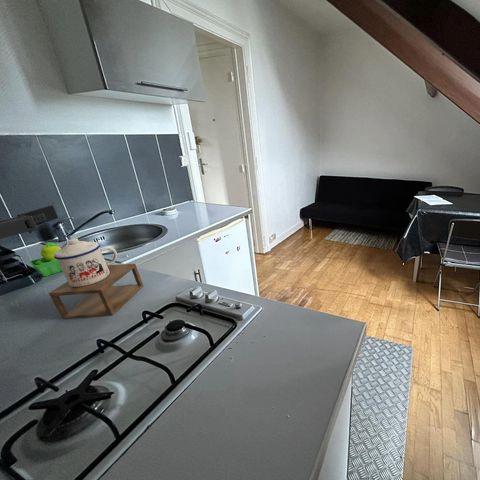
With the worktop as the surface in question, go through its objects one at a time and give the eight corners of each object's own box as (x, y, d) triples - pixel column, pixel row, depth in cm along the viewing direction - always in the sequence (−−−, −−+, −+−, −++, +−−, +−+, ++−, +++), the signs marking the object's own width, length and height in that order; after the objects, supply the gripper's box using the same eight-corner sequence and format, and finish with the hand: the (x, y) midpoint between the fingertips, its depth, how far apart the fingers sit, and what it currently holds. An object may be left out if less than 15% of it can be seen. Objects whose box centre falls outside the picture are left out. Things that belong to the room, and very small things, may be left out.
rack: (62, 318, 68) (48, 293, 65) (101, 288, 81) (91, 266, 78) (112, 315, 68) (100, 289, 65) (143, 286, 81) (135, 263, 78)
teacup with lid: (69, 292, 65) (48, 250, 60) (67, 279, 71) (48, 240, 66) (126, 273, 72) (111, 234, 68) (120, 263, 78) (105, 227, 74)
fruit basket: (76, 261, 102) (63, 234, 97) (83, 266, 97) (70, 238, 92) (35, 274, 93) (19, 245, 89) (41, 280, 88) (24, 250, 84)
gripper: (-64, 229, 34) (73, 192, 53) (-263, 241, 33) (-51, 199, 53) (-30, 279, 37) (88, 226, 56) (-213, 290, 36) (-30, 234, 56)
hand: (21, 213), depth 54 cm, fingers open, 13 cm apart
